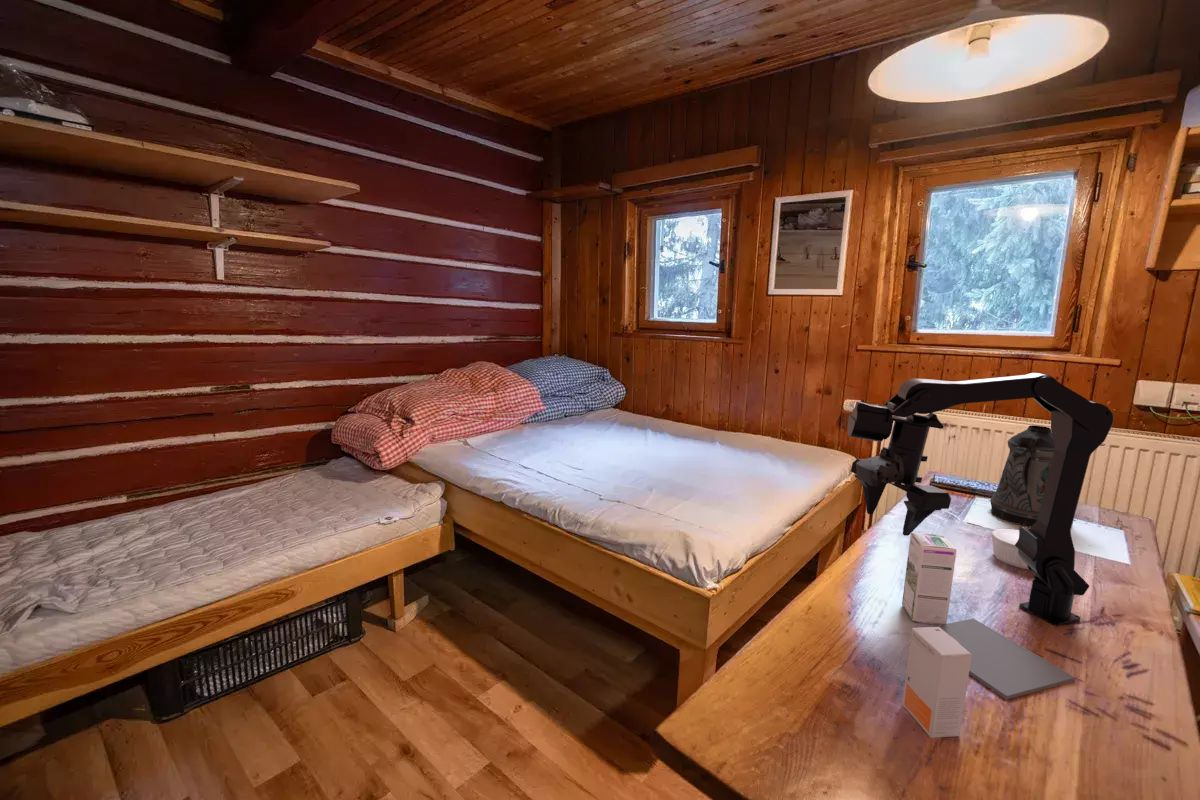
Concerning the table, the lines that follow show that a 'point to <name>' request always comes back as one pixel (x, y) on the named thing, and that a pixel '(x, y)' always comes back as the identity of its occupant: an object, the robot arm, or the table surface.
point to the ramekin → (1007, 547)
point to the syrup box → (928, 578)
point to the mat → (1004, 661)
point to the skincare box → (936, 681)
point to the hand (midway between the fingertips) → (886, 524)
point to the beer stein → (1024, 476)
